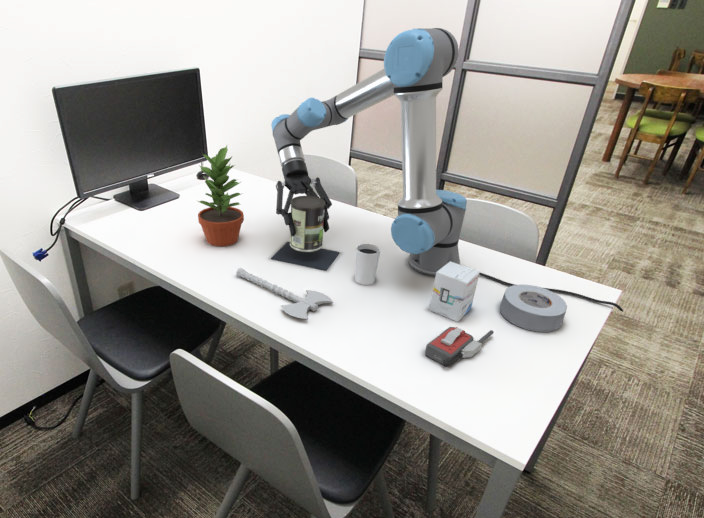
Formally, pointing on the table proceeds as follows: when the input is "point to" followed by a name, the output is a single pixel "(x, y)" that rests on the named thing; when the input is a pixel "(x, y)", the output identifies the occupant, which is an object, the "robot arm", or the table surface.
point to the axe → (290, 296)
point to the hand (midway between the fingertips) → (310, 232)
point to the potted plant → (220, 204)
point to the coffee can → (307, 223)
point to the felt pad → (306, 257)
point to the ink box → (454, 290)
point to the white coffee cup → (366, 263)
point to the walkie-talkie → (454, 345)
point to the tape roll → (533, 308)
